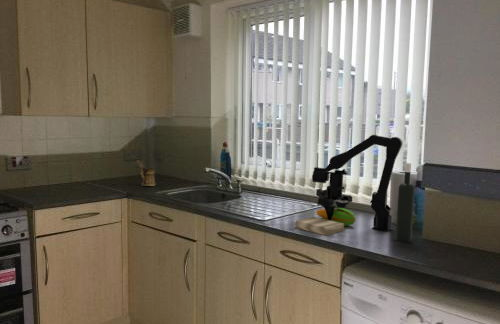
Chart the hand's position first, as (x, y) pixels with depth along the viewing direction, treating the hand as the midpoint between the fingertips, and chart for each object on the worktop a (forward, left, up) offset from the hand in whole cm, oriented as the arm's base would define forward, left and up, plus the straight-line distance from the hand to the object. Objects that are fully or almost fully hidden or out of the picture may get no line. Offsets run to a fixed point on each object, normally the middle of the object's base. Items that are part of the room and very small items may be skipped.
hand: (334, 219), depth 194 cm
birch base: (-2, +13, -2) cm, 14 cm away
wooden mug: (+138, +13, -2) cm, 139 cm away
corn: (0, 0, -2) cm, 2 cm away
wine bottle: (-33, +1, -2) cm, 33 cm away
